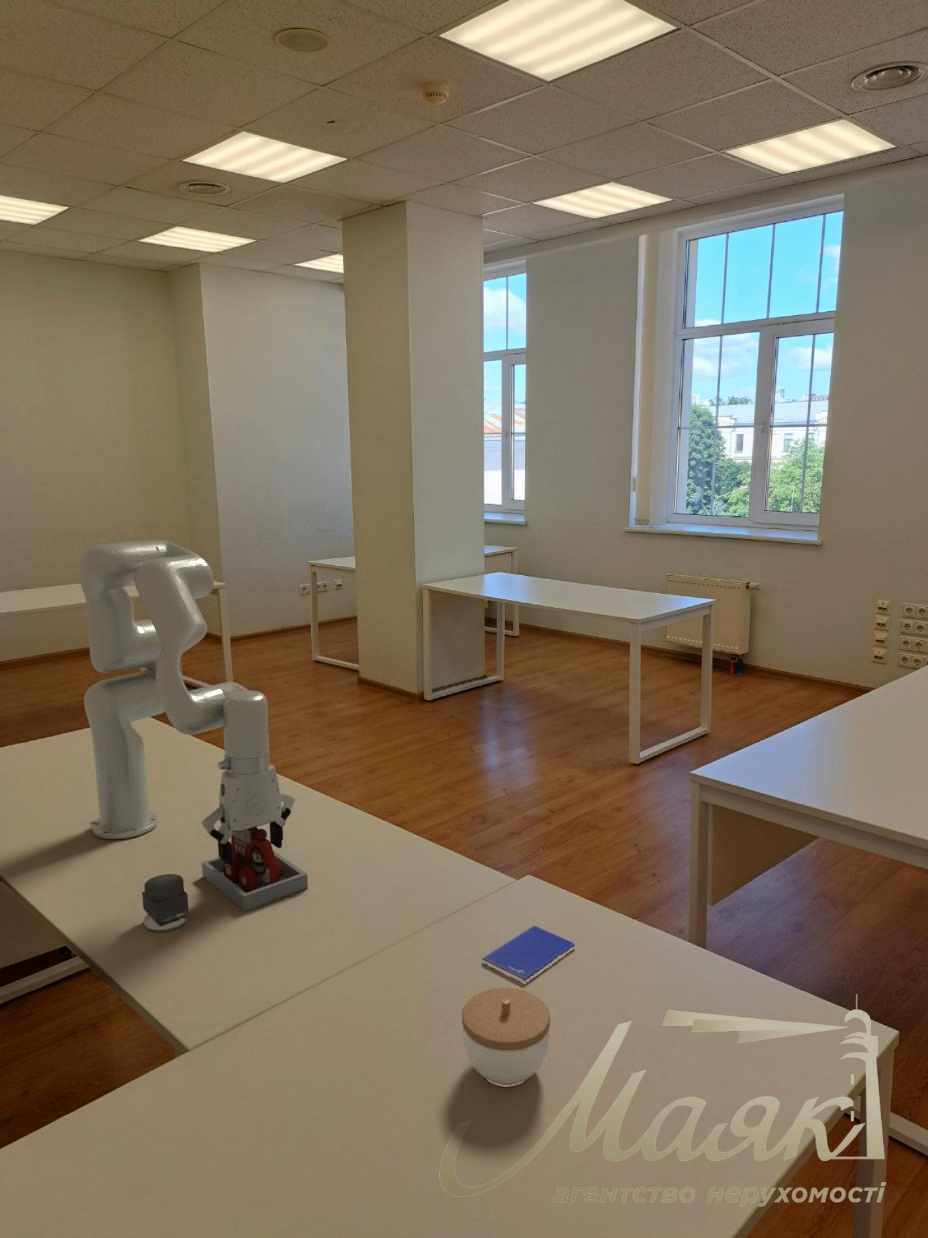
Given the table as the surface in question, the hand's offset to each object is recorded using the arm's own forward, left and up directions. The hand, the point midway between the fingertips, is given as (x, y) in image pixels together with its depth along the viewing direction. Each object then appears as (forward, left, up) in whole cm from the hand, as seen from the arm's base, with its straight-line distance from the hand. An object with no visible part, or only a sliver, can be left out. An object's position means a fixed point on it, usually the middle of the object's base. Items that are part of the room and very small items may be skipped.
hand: (251, 853), depth 152 cm
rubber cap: (+3, -17, -4) cm, 18 cm away
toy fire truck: (0, 0, -5) cm, 5 cm away
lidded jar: (+65, +1, -6) cm, 65 cm away
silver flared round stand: (+3, -17, -6) cm, 18 cm away
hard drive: (+49, +21, -6) cm, 54 cm away
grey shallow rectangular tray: (0, 0, -6) cm, 6 cm away
